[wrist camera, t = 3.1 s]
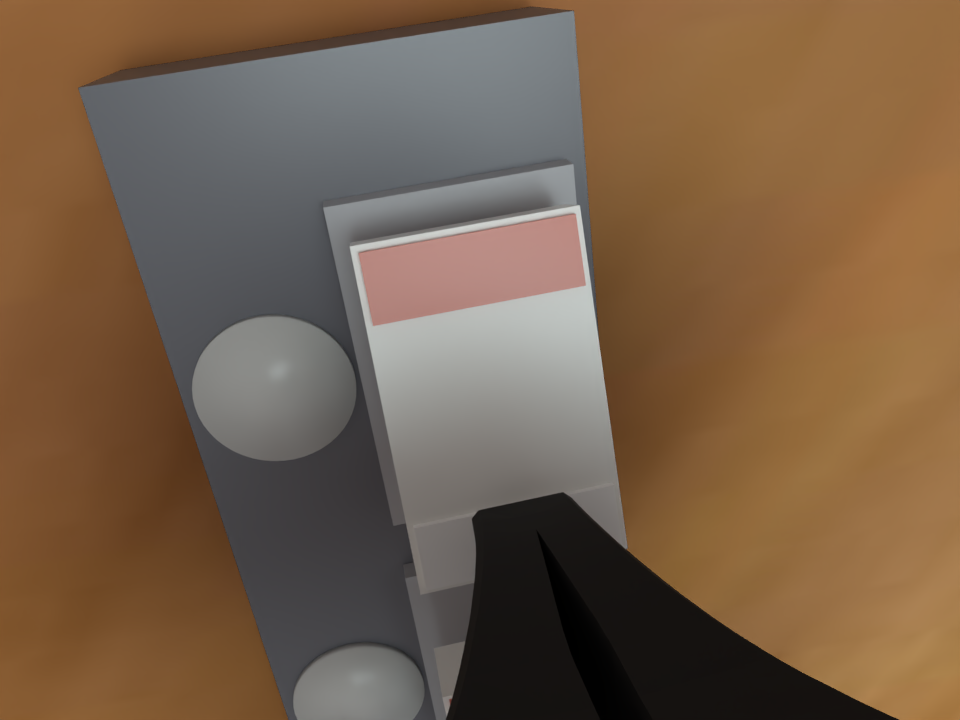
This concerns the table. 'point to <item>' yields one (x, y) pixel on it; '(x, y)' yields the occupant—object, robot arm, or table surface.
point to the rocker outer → (487, 377)
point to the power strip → (327, 301)
